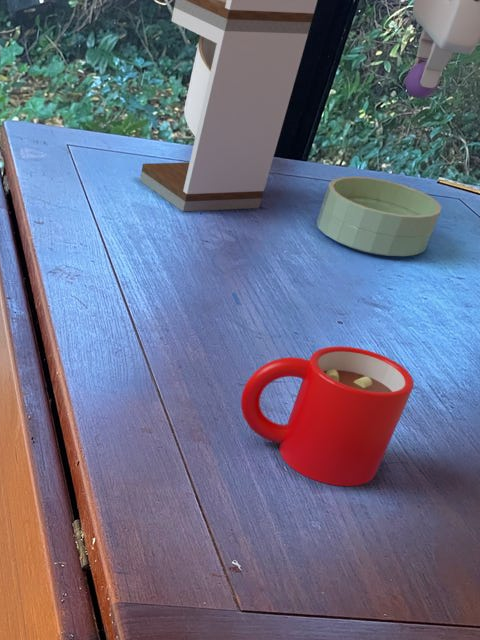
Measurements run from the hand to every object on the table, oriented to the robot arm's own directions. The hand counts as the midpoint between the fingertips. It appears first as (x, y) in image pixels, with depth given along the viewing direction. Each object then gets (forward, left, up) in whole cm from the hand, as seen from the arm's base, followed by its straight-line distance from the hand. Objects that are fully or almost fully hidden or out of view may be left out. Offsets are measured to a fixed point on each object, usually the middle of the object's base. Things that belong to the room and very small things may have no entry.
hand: (422, 81), depth 114 cm
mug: (+14, +60, -17) cm, 63 cm away
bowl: (+1, +5, -16) cm, 17 cm away
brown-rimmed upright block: (+22, -1, -17) cm, 27 cm away
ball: (0, 0, 0) cm, 0 cm away
